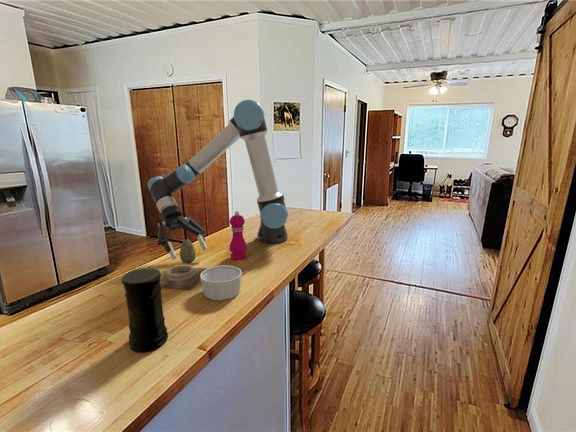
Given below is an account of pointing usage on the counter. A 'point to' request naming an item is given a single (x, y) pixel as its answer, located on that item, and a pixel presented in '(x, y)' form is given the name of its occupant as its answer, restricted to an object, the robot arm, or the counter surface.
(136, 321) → the container
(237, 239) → the pepper mill
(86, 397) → the counter surface
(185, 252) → the decorative egg
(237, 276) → the ramekin
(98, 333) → the counter surface
